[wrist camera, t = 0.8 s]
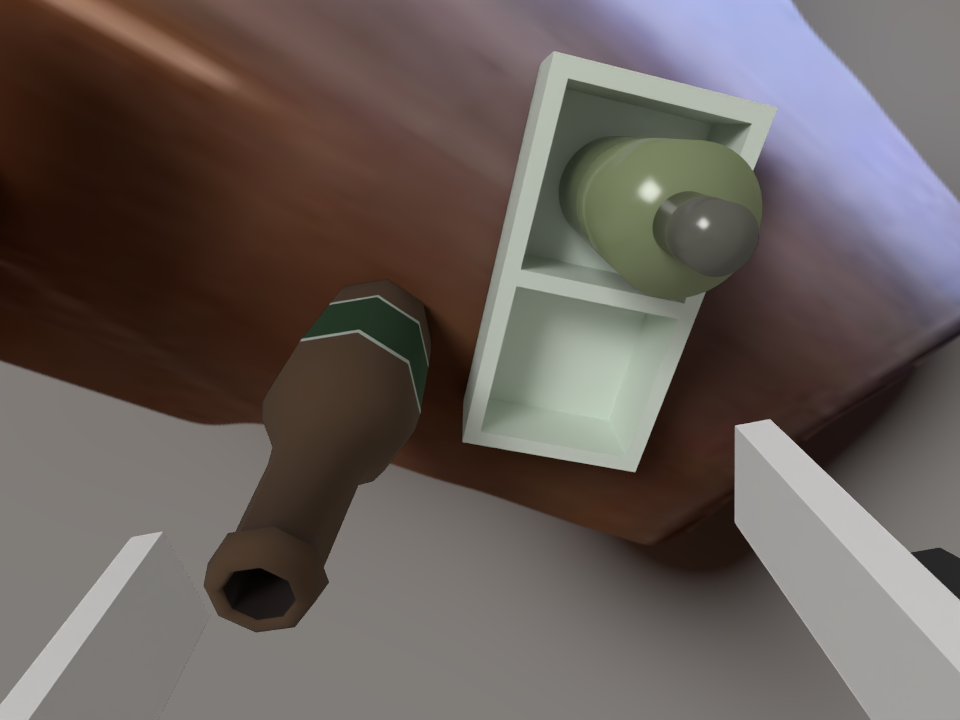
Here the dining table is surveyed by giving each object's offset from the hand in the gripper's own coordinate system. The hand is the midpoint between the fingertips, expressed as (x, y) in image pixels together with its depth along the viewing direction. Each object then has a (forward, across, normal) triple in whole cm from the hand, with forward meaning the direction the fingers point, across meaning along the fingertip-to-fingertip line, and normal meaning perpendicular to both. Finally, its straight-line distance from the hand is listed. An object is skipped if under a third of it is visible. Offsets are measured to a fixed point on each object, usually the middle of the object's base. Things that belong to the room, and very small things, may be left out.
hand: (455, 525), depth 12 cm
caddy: (+26, +8, -2) cm, 28 cm away
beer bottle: (+27, -6, -4) cm, 28 cm away
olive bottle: (+25, +10, +2) cm, 28 cm away
